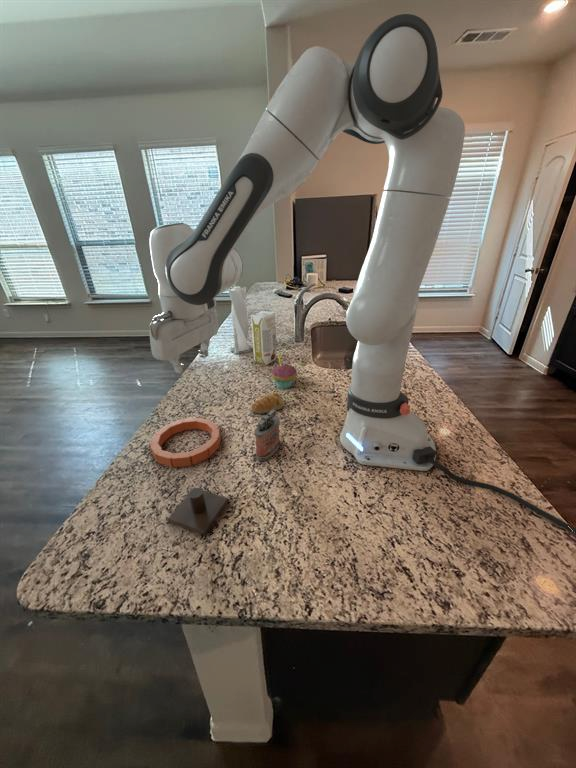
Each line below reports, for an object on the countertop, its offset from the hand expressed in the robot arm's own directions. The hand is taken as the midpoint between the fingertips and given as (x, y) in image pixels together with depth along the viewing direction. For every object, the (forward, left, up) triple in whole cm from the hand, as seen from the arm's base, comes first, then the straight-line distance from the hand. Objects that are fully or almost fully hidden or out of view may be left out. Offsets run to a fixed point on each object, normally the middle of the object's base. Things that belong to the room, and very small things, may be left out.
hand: (192, 363), depth 75 cm
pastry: (-12, -16, -19) cm, 28 cm away
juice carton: (+4, -48, -19) cm, 52 cm away
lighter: (-20, +2, -19) cm, 28 cm away
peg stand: (-15, +23, -19) cm, 34 cm away
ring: (0, +7, -19) cm, 20 cm away
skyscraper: (+19, -56, -19) cm, 62 cm away
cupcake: (-11, -31, -19) cm, 38 cm away
